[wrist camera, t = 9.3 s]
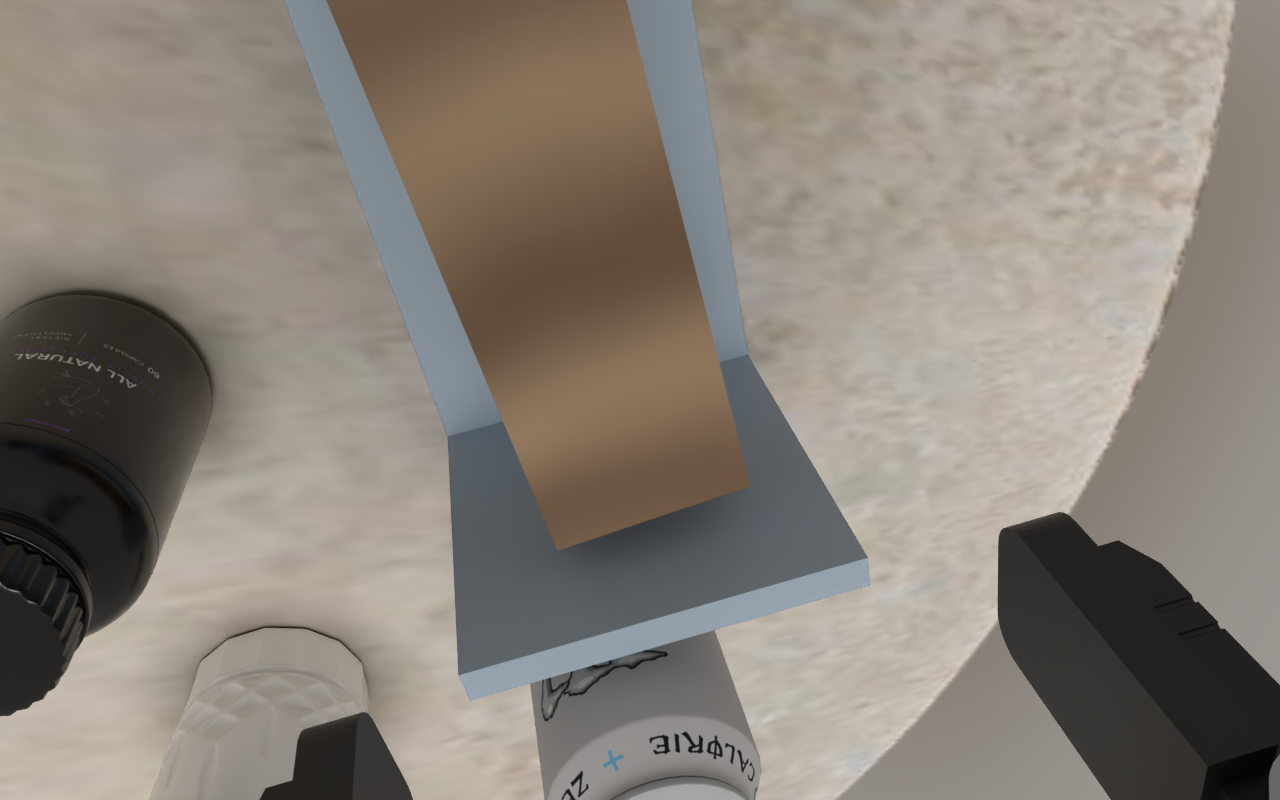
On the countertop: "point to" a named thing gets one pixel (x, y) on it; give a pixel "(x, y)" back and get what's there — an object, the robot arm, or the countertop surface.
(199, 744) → the white cup
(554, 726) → the energy drink can
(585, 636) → the peg stand
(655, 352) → the walnut board
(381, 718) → the countertop surface
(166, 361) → the supplement bottle
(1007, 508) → the countertop surface
